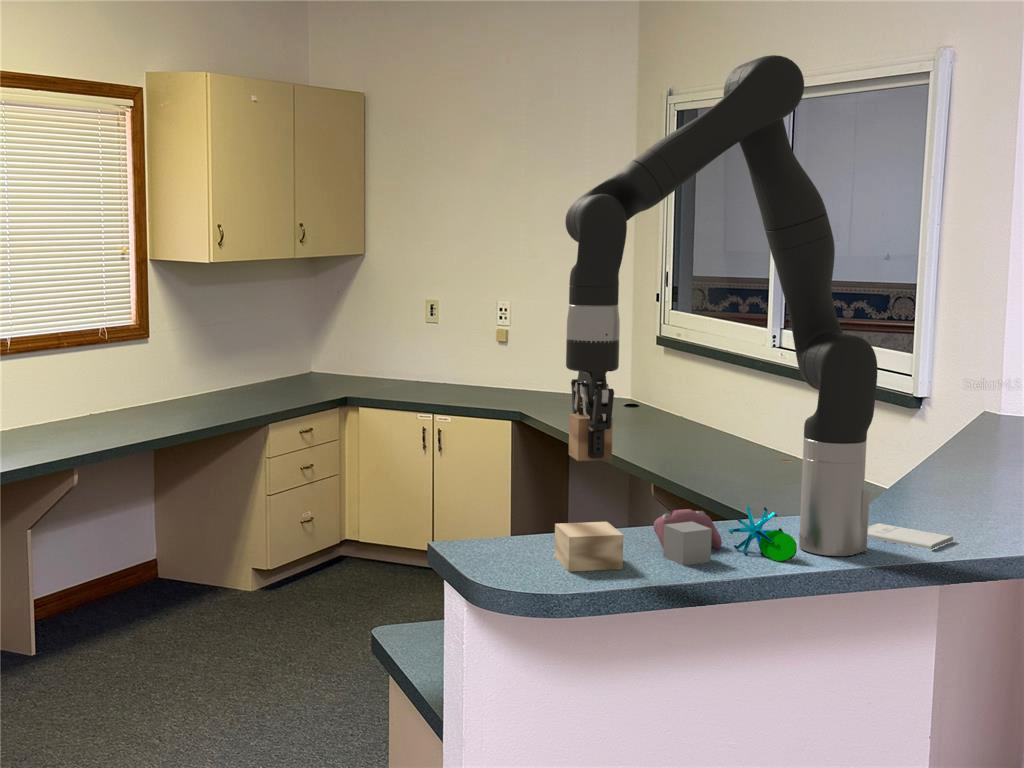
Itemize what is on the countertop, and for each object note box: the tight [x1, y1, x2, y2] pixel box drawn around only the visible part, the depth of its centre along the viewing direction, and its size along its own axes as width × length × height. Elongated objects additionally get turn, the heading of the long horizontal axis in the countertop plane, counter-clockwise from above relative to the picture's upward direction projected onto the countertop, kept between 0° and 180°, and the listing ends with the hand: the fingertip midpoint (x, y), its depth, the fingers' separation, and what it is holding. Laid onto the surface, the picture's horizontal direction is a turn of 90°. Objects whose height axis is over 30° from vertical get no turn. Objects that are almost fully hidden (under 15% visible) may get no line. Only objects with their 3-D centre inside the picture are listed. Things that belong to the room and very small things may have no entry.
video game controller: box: [653, 508, 723, 550], centre depth 171 cm, size 10×5×7 cm, turn 112°
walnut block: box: [568, 413, 614, 462], centre depth 160 cm, size 5×5×6 cm
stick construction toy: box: [728, 505, 798, 563], centre depth 169 cm, size 12×7×8 cm
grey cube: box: [662, 522, 712, 566], centre depth 164 cm, size 5×5×5 cm
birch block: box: [554, 521, 624, 573], centre depth 161 cm, size 8×8×5 cm
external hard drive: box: [868, 522, 954, 549], centre depth 178 cm, size 2×8×12 cm
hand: (590, 453), depth 160 cm, fingers closed on walnut block, 5 cm apart
